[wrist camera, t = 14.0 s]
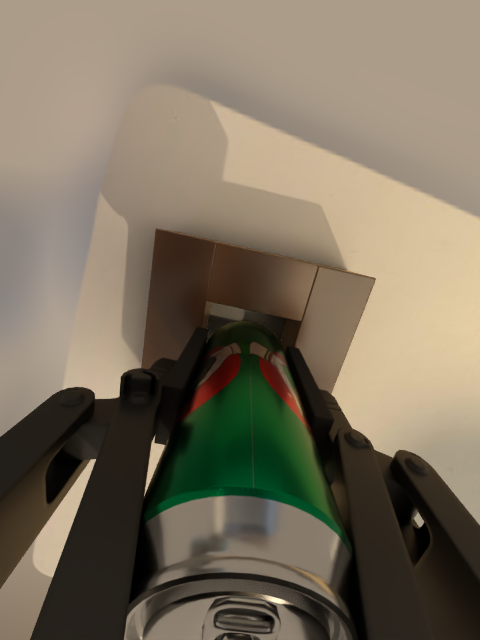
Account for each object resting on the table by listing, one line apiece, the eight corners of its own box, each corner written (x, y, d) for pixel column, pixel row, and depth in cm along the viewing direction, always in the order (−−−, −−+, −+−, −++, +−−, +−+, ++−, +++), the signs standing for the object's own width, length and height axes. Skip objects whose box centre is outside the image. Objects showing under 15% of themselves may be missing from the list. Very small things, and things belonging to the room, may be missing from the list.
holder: (156, 385, 21) (136, 416, 17) (175, 231, 17) (155, 228, 14) (298, 413, 22) (309, 449, 18) (349, 270, 18) (376, 278, 14)
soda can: (202, 383, 16) (101, 703, 5) (208, 313, 15) (82, 540, 3) (275, 392, 16) (341, 729, 5) (289, 323, 15) (426, 579, 4)
